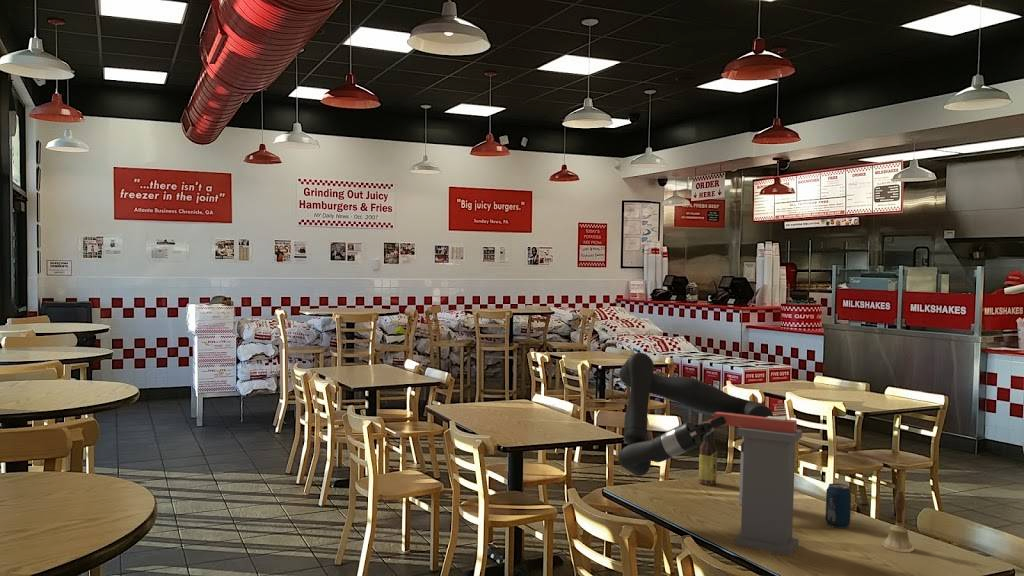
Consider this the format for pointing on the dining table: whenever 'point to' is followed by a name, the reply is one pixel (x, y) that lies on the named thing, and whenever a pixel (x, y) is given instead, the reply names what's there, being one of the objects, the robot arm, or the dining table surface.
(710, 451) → the sauce bottle
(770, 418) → the red bar
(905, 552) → the dining table surface
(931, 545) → the dining table surface
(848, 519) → the soda can
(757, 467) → the pedestal
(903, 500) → the hand bell
